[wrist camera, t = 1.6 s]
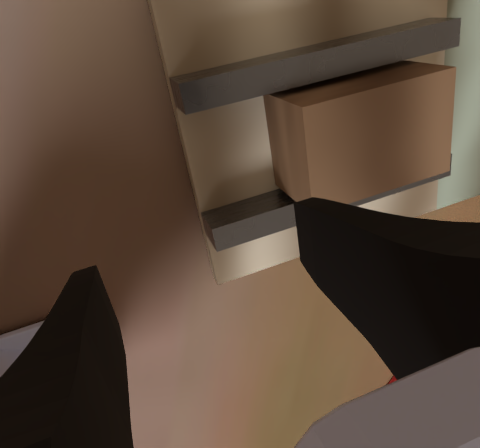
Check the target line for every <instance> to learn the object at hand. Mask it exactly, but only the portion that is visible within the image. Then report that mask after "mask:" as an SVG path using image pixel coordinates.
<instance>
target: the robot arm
mask: <svg viewBox="0 0 480 448" xmlns="http://www.w3.org/2000/svg"><path fill="white" fill-rule="evenodd" d="M294 212H295V220H296V228H297V236H298V245H299V253H300V261H301V263H302V264H303V266H304V267H305V269H306V270H307V272H308V273H309V275H310V276H311V278H312V279H313V281H314V282H315V283H316V285H317V286H318V287H319V288H320V289H321V291H322V292H323V293H324V294H325V295H326V296H327V297H328V298H329V299H330V300H331V301H332V303H333V304H334V305H335V306H336V307H337V308H338V309H339V310H340V311H341V312H342V313H343V314H344V315H345V316H346V318H347V319H348V320H349V321H350V322H351V323H352V324H353V325H354V326H355V327H356V328H357V329H358V330H359V331H360V333H361V334H362V335H363V336H364V337H365V338H366V339H367V341H368V342H369V343H370V344H371V345H372V347H373V348H374V349H375V351H376V352H377V353H378V355H379V356H380V357H381V359H382V360H383V361H384V363H385V364H386V365H387V367H388V368H389V369H390V371H391V372H392V374H393V375H394V376H395V378H396V379H397V381H394V382H392V383H390V384H388V385H385V386H383V387H381V388H378V389H376V390H374V391H372V392H369V393H367V394H365V395H362V396H360V397H358V398H355V399H353V400H351V401H349V402H346V403H344V404H342V405H340V406H338V407H337V408H335V409H334V410H332V411H331V412H329V413H328V414H326V415H325V416H323V417H322V418H320V419H318V420H317V421H315V422H314V423H313V424H312V425H311V426H310V427H309V429H308V430H307V431H306V433H305V434H304V435H303V437H302V438H301V439H300V440H299V442H298V443H297V444H296V446H295V447H294V448H480V223H475V222H451V221H438V220H429V219H420V218H413V217H406V216H400V215H395V214H389V213H384V212H379V211H375V210H370V209H366V208H361V207H357V206H353V205H349V204H345V203H341V202H336V201H332V200H328V199H323V198H316V197H311V198H308V199H305V200H301V201H298V202H295V203H294ZM0 448H134V447H133V440H132V432H131V421H130V407H129V393H128V379H127V366H126V354H125V350H124V345H123V340H122V335H121V331H120V326H119V323H118V320H117V318H116V315H115V312H114V310H113V307H112V305H111V302H110V299H109V297H108V294H107V292H106V289H105V287H104V284H103V281H102V279H101V276H100V274H99V271H98V269H97V266H96V265H95V266H92V267H88V268H85V269H82V270H79V271H76V272H73V273H72V275H71V276H70V278H69V280H68V281H67V283H66V285H65V287H64V288H63V290H62V292H61V294H60V296H59V297H58V299H57V301H56V303H55V304H54V306H53V308H52V309H51V311H50V312H49V314H48V316H47V317H46V319H45V320H44V321H41V322H38V323H35V324H32V325H29V326H26V327H23V328H20V329H17V330H14V331H11V332H8V333H5V334H2V335H0Z"/></svg>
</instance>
